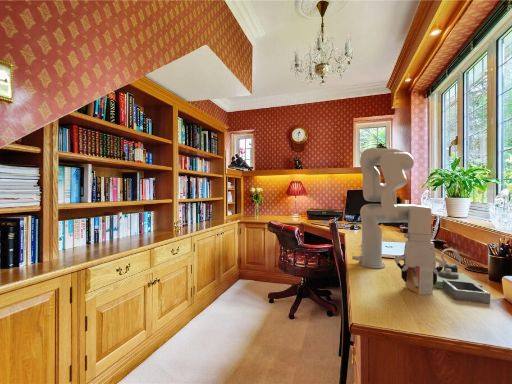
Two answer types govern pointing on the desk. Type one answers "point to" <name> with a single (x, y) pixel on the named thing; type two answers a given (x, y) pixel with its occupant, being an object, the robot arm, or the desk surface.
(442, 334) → the desk surface
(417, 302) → the desk surface
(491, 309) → the desk surface
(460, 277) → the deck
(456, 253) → the watch
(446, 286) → the grey tray
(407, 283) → the small box
